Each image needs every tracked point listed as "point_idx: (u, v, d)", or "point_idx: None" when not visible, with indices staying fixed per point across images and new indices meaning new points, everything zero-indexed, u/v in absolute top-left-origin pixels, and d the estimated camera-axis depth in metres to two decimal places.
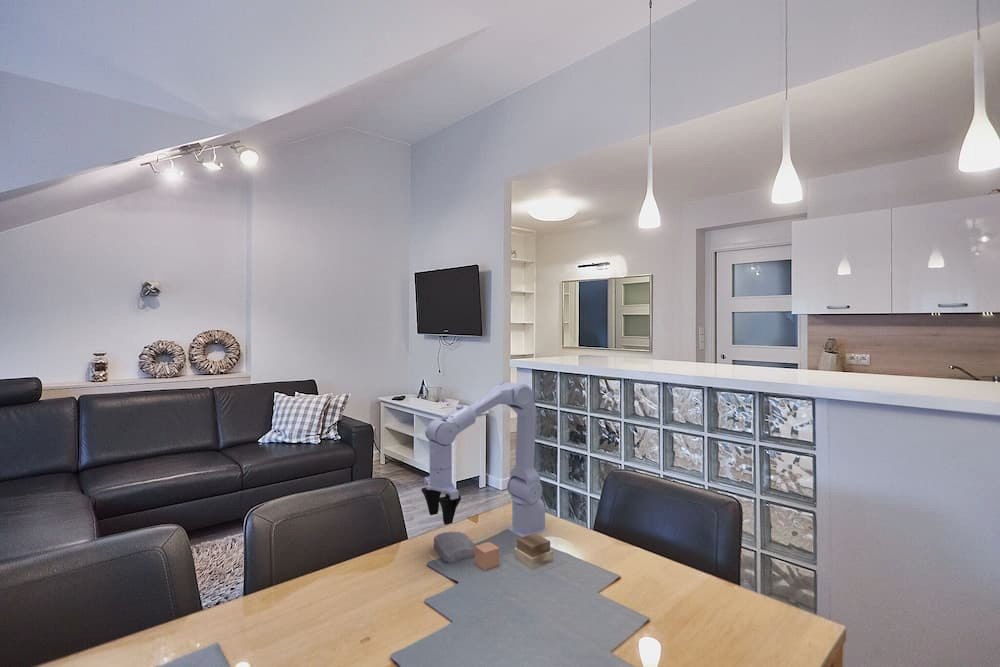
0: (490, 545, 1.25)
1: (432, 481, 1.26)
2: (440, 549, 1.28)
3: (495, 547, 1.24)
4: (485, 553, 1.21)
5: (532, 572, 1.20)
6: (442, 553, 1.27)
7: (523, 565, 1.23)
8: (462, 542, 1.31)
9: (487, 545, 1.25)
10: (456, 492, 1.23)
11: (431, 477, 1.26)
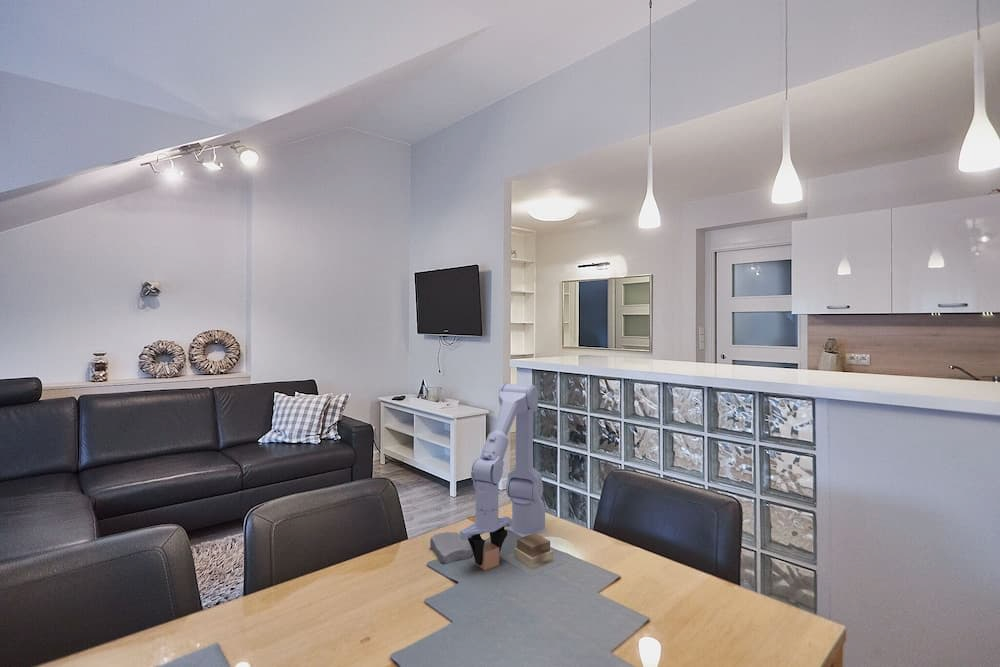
0: (490, 544, 1.25)
1: None
2: (436, 550, 1.28)
3: (496, 547, 1.24)
4: (485, 553, 1.21)
5: (532, 572, 1.20)
6: (438, 554, 1.26)
7: (523, 565, 1.23)
8: (458, 543, 1.30)
9: (487, 545, 1.25)
10: (463, 533, 1.19)
11: None
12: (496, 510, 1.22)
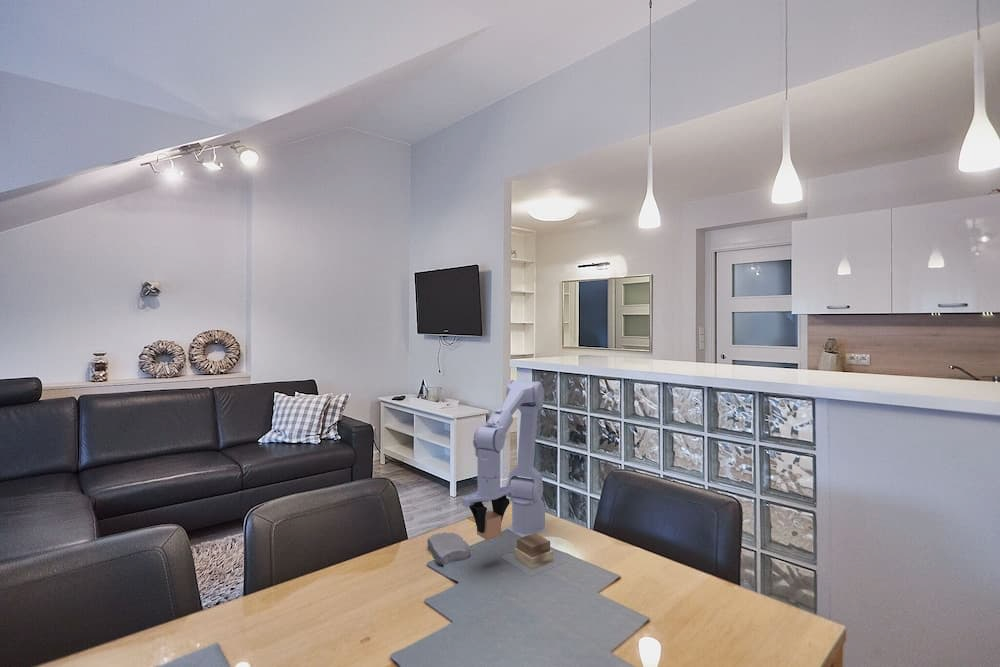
0: (492, 513, 1.25)
1: None
2: (434, 550, 1.28)
3: (498, 515, 1.23)
4: (487, 520, 1.21)
5: (532, 572, 1.20)
6: (436, 554, 1.26)
7: (523, 565, 1.23)
8: (456, 543, 1.30)
9: (489, 513, 1.25)
10: (465, 500, 1.19)
11: None
12: (498, 478, 1.22)
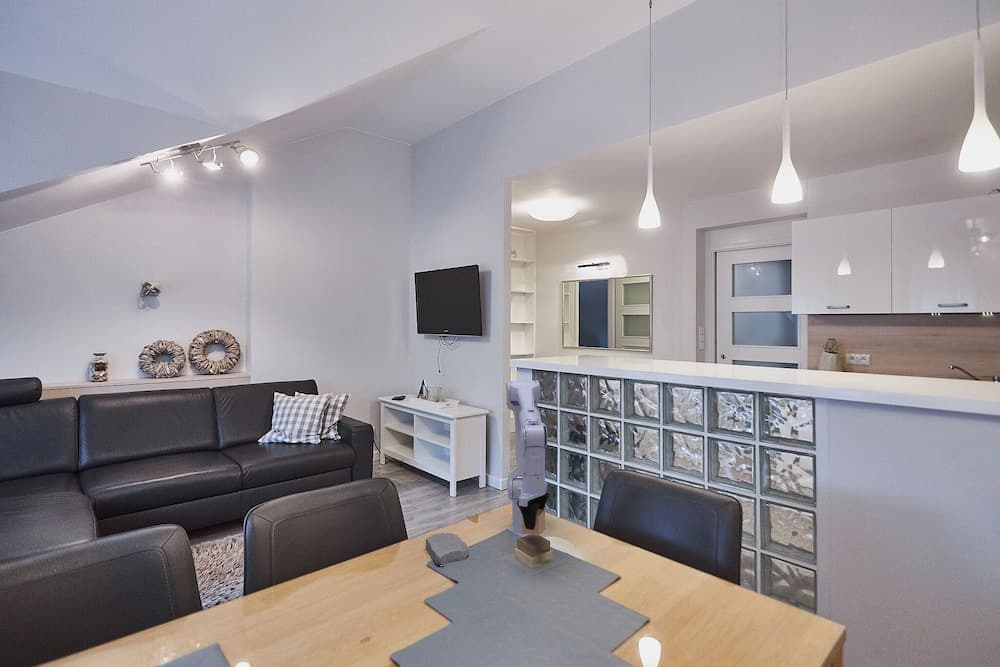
0: None
1: None
2: (432, 551, 1.27)
3: (541, 510, 1.27)
4: (539, 516, 1.23)
5: (532, 572, 1.20)
6: (434, 555, 1.26)
7: (523, 565, 1.23)
8: (454, 543, 1.30)
9: None
10: (523, 500, 1.19)
11: None
12: (544, 473, 1.26)
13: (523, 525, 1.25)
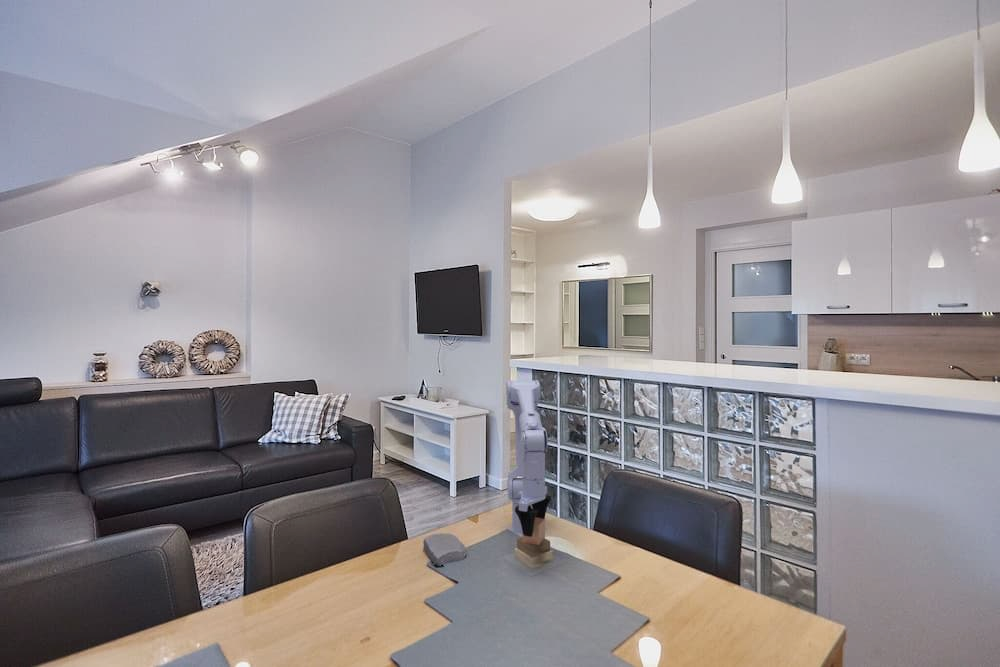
0: None
1: None
2: (430, 551, 1.27)
3: (541, 519, 1.27)
4: (539, 525, 1.23)
5: (532, 572, 1.20)
6: (432, 555, 1.25)
7: (523, 565, 1.23)
8: (452, 544, 1.30)
9: None
10: (523, 505, 1.19)
11: None
12: (544, 478, 1.26)
13: None
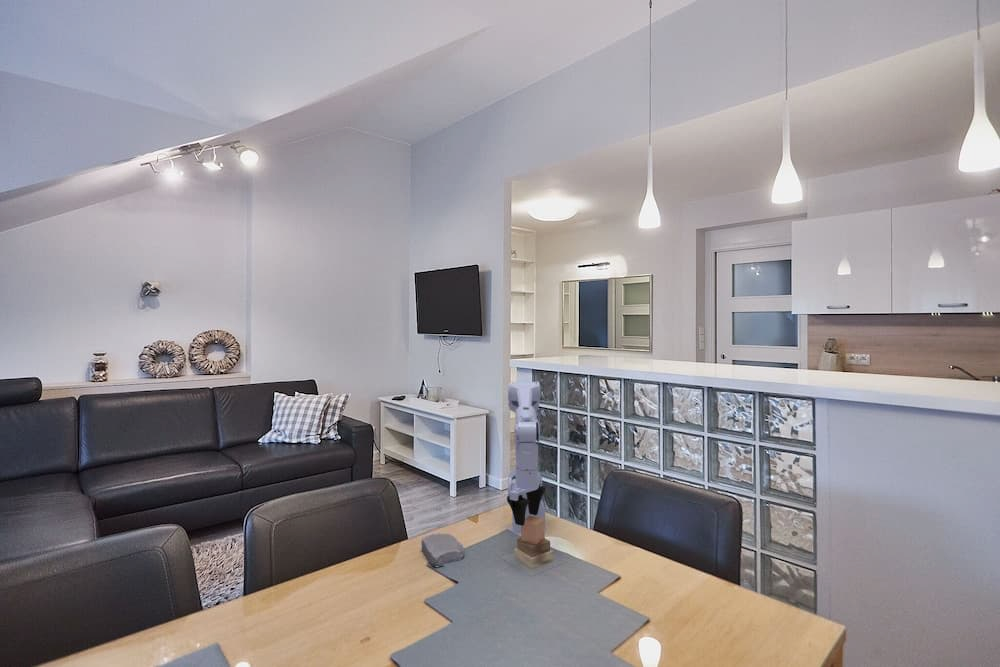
0: (534, 517, 1.28)
1: None
2: (428, 551, 1.27)
3: (541, 518, 1.27)
4: (536, 525, 1.23)
5: (532, 572, 1.20)
6: (430, 556, 1.25)
7: (523, 565, 1.23)
8: (450, 544, 1.29)
9: (531, 518, 1.27)
10: (514, 494, 1.22)
11: None
12: (537, 469, 1.28)
13: (522, 533, 1.26)
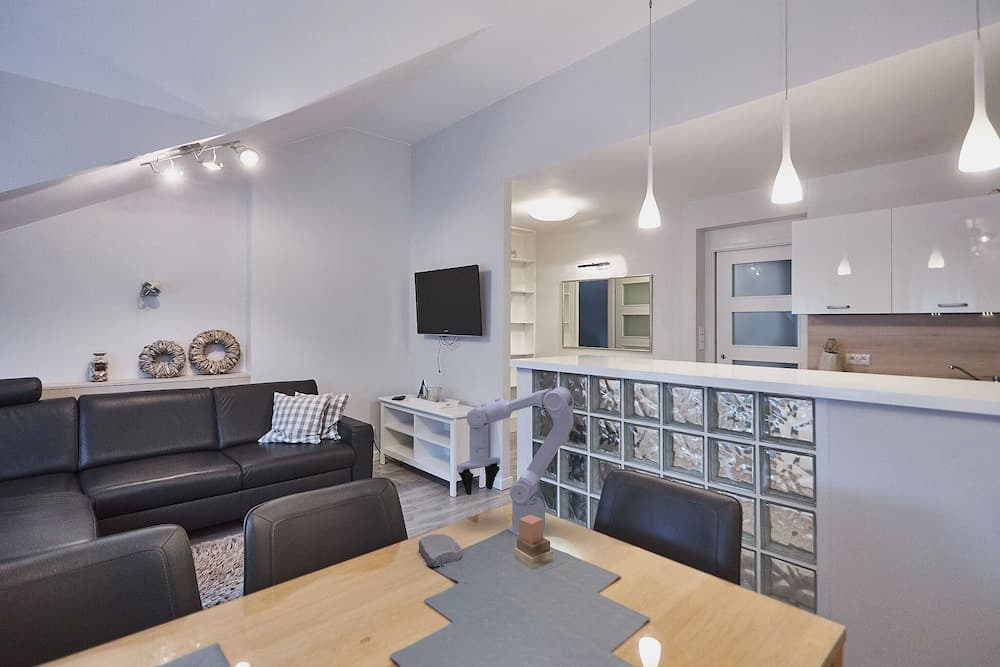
0: (533, 517, 1.28)
1: None
2: (425, 552, 1.26)
3: (539, 518, 1.27)
4: (532, 524, 1.24)
5: (532, 572, 1.20)
6: (427, 556, 1.25)
7: (523, 565, 1.23)
8: (447, 545, 1.29)
9: (530, 517, 1.28)
10: (459, 466, 1.45)
11: None
12: (486, 449, 1.48)
13: (519, 531, 1.27)
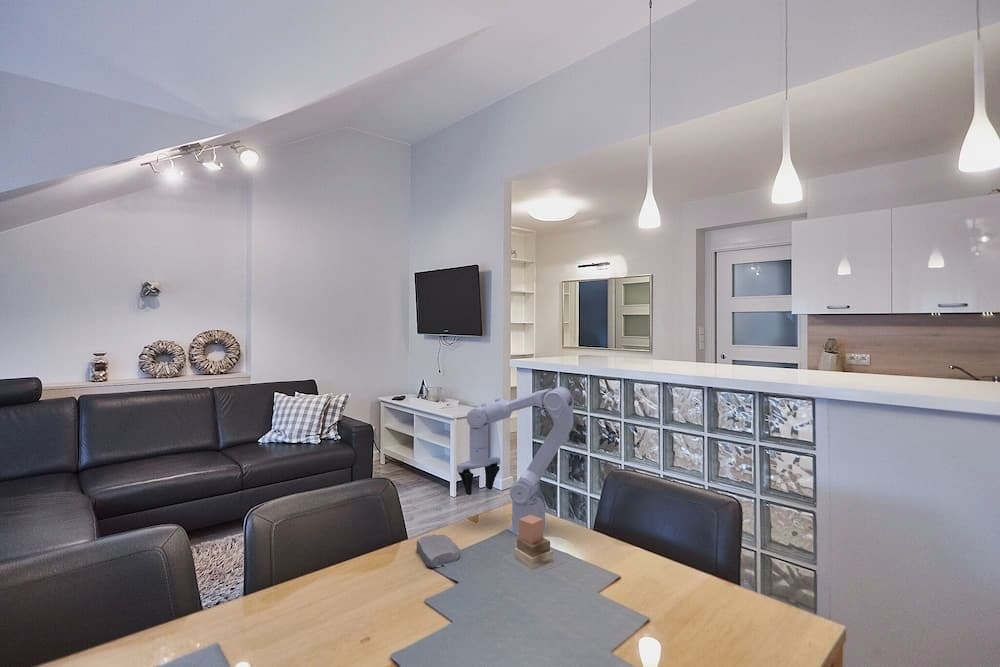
0: (533, 517, 1.28)
1: None
2: (423, 553, 1.26)
3: (539, 518, 1.27)
4: (532, 524, 1.24)
5: (532, 572, 1.20)
6: (425, 557, 1.25)
7: (523, 565, 1.23)
8: (445, 545, 1.29)
9: (530, 517, 1.28)
10: (459, 466, 1.45)
11: None
12: (486, 449, 1.48)
13: (519, 531, 1.27)
